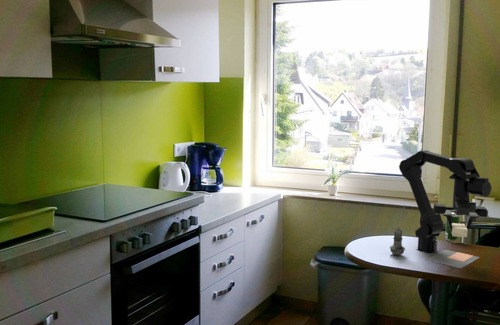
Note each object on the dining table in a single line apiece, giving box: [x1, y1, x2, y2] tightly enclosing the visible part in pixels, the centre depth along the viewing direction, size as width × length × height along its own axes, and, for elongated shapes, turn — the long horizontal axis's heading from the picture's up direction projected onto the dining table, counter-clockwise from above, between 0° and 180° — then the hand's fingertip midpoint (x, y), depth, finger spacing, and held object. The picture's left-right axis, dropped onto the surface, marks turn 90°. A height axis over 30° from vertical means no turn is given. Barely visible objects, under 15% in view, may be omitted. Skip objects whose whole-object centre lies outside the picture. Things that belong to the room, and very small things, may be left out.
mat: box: [424, 249, 481, 269], centre depth 202 cm, size 14×18×1 cm
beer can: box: [444, 212, 461, 242], centre depth 229 cm, size 5×5×12 cm
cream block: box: [451, 223, 469, 238], centre depth 199 cm, size 8×5×3 cm, turn 166°
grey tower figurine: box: [389, 226, 406, 257], centre depth 204 cm, size 6×6×12 cm
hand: (458, 232), depth 199 cm, fingers closed on cream block, 5 cm apart
